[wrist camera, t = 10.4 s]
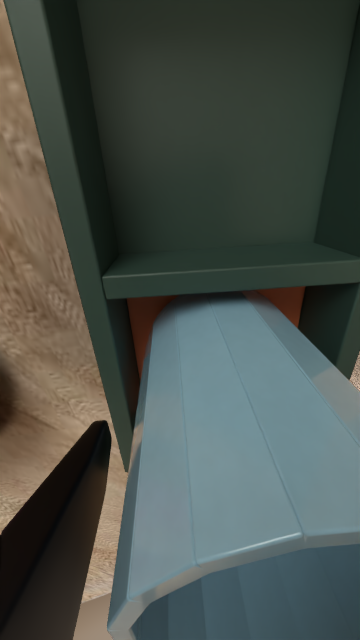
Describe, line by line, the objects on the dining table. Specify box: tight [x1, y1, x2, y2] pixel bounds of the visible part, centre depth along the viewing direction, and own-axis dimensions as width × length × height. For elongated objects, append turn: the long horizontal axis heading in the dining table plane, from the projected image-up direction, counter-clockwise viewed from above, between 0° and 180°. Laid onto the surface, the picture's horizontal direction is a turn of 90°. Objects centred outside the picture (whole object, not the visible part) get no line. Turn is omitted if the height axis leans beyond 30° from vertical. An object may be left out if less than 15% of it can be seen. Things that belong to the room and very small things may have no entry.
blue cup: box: [107, 290, 360, 640], centre depth 8 cm, size 7×7×9 cm
